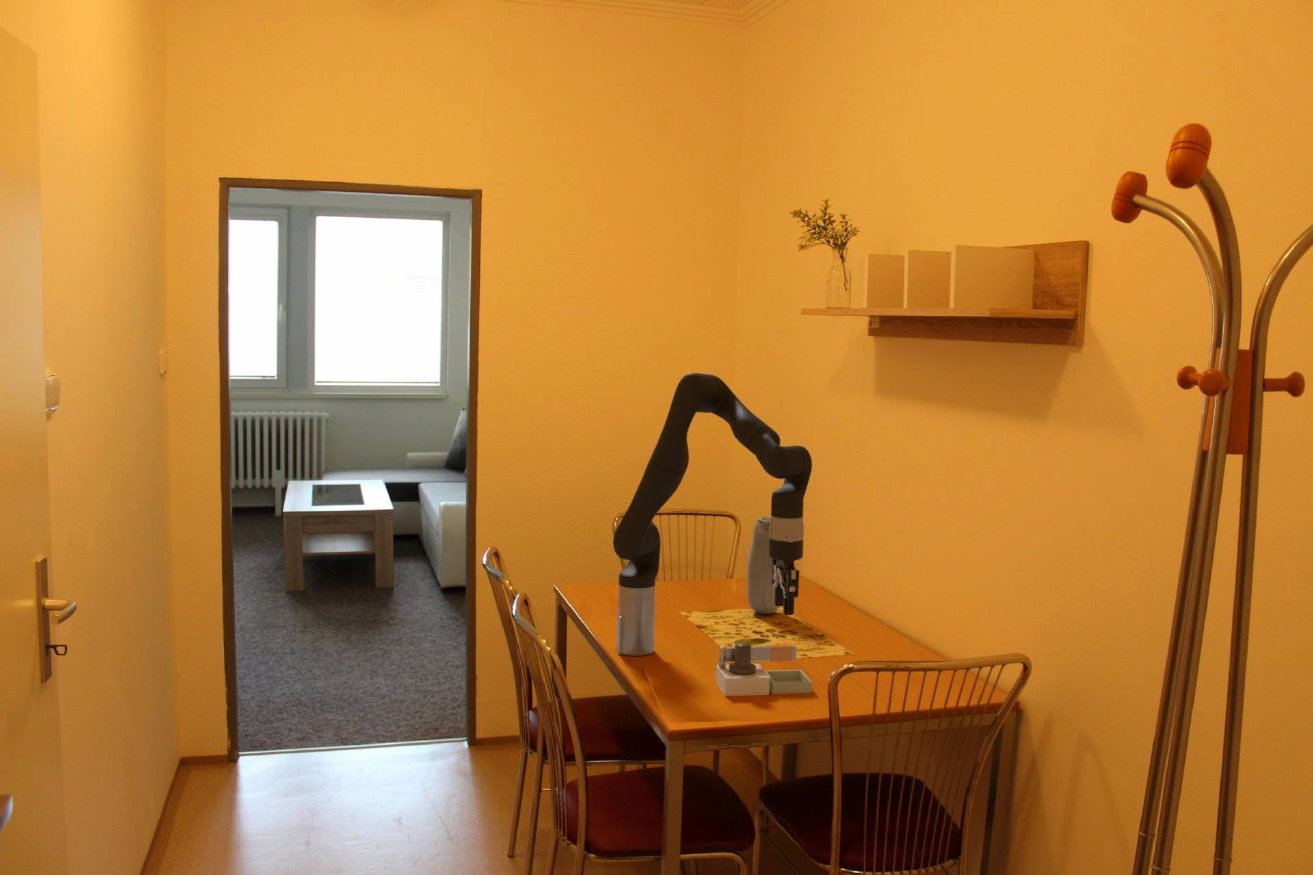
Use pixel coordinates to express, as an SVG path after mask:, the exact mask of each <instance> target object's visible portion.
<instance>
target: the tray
mask: <svg viewBox="0 0 1313 875" xmlns="http://www.w3.org/2000/svg"><path fill="white" fill-rule="evenodd" d="M764 671H765V672H766V674H767V675H768V676H769V692H771V693H772V694H773V695H774V694H775V695H776V694H777V695H779V694H780V695H781V694H783V695H785V694H811V693H813V680H811V679H810V678H809V677H808V676H807V674H806V673H805V672H804V671H803V669H786V670H785V669H781V670H779V669H776V670H764Z"/></svg>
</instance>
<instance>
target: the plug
mask: <svg viewBox="0 0 1313 875" xmlns="http://www.w3.org/2000/svg"><path fill="white" fill-rule="evenodd" d="M751 646H752V644H751V643H749V642H737V643H735V644H734V647H735V661H733V662H730V663H729V664H728V665H729V672H731V673H733V674H734V675H752V674H754V673H756V666H755V665H754V664H755V663H751V662H752V661H751Z"/></svg>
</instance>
